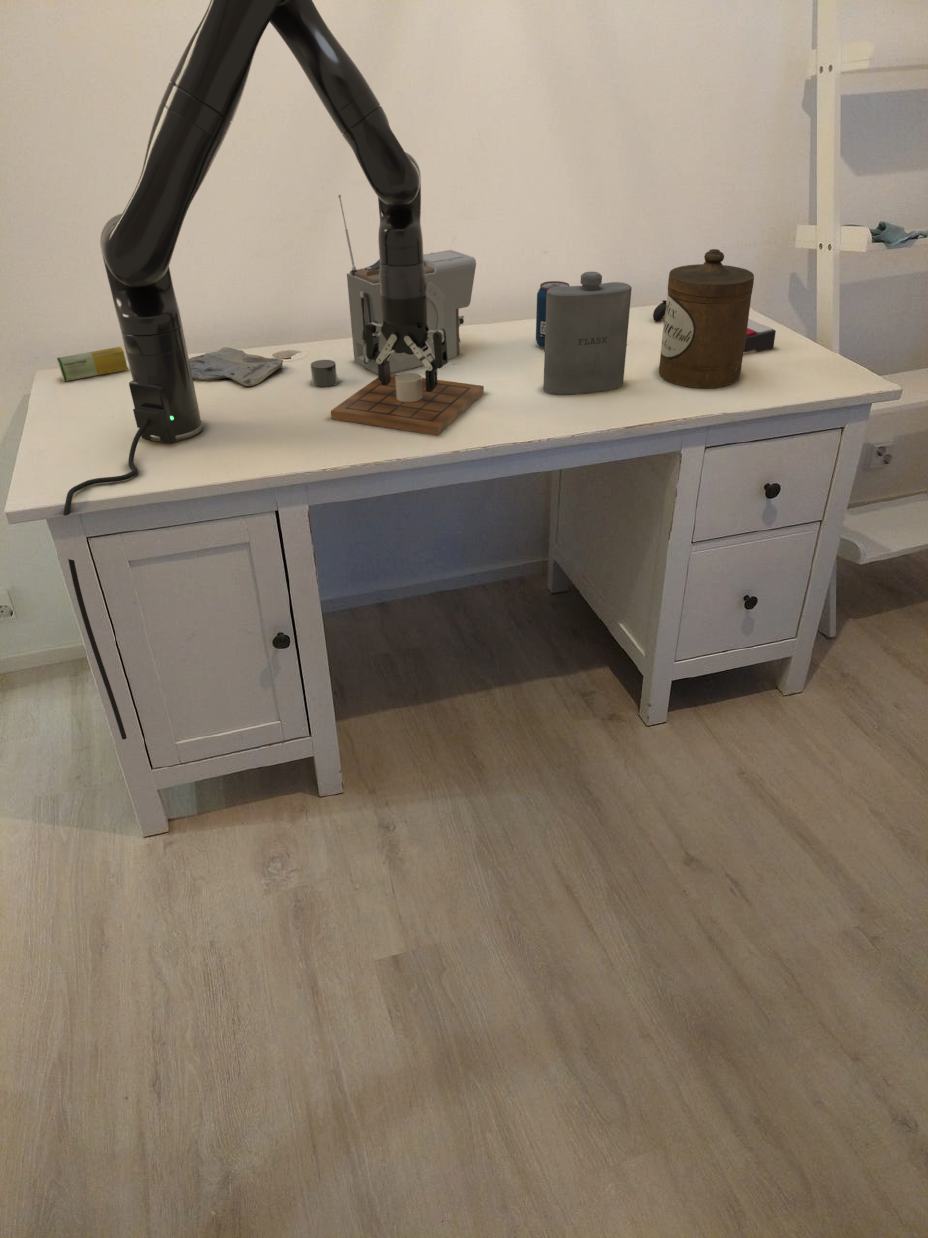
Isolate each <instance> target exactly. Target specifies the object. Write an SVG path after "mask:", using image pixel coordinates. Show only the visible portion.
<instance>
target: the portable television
mask: <svg viewBox="0 0 928 1238" xmlns="http://www.w3.org/2000/svg"><path fill="white" fill-rule="evenodd" d="M337 197H338V199H339V203H340V209H341V213H342V218H343V225H344V231H345V237H346V242H347V246H348V247H347V248H348V251H349V256H350V262H351V265H352V266H351V270H350V272H349V273H348V272H347V273H346V281H347V292H348V302H349V304H348V305H349V317H350V326H351V337H352V338H351V339H352V349H353V360H354V363H357V364H358V365H360V366H361V367H363V368H365V369H367V370H369V371H371V372H373V373H374V374H376V375H378V364H377V362H376V361H375V360H373V359H368V358H367V356H366V325H368V324H369V323H371V322H373V321H377V322H378V324H383V319H382V312H381V297H380V282H379V271H380V258H379V259H378V260H377V261H376V262H374V263H373V264H371V265H369V266H366V267H364V268H363V267H362V268H358V269H357V268H356V265H355V261H354V257H353V251H352V246H351V241H350V235H349V230H348V228H347V223H346V217H345V214H344V213H345V212H344V208H343V203H342V199H341V198H342V194H339V193H338V195H337ZM423 259H424V260H423V261H424V268H425V275H426V284H427V289H426V296H427V326H428V328H429V330H439V329H441V328H442V329H444V330H445V332H446V343H447V355H448V360H452V359H455V358H456V357H458V356H460V343H461V338H460V326H461V325H464V324H465V323H464V322H465V321H464V318H465V315H459V314H460V313H459V312H460V311H459V310H461V309H464V308H468V307H469V306H470V304H471V301H472V293H473V287H474V281H475V274H476V268H477V262H476V258H475V257H474V256H471V255H468V254H465V253H462V252H459V251H455V250H452V249H447V250H441V251H437V252H430V253H425V254H424V253H423ZM386 342H387V340H386V339H385V337H384V336H383V334H382V332H381V334H380V335H379V352H381V350H382V348H383V347H384V345H385V344H386ZM426 342H427V343H428V345H429V346H430V348H431V349H432V353H433V355H434V356H435V353H434V344H433V343H431V339H430V338H429V337H428V339H427V340H426ZM421 351H423V350H422V348H421ZM387 361H390V373H391V374H395V373H397V372H401V371H406V370H410V369H414V368H418V367H422V366H424V365H423V363H422V362H421V361H420V360H418V359H417V357H416V356H415V354H413V355H409V354H406V353H396V351H393V353H392V354H391V355H390V357H389V358H388V360H387Z"/></svg>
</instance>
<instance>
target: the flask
mask: <svg viewBox="0 0 928 1238" xmlns="http://www.w3.org/2000/svg"><path fill="white" fill-rule="evenodd" d="M602 282H603V275H602V274H601V273H600V272H598V271H585V272H582V274H581V275H580V284H581V285H569V286H559V287H553V288H550V289H548V290H547V297H546V326H545V349H544V359H543V384H542V386H543V390H544V391H545V392H546V393H547V394H551V395H559V396H560V395H561V396H562V395H563V396H564V395H567V396H568V395H583V394H593V393H601V392H608V391H612V390H616V389H620V388H621V387H622V386H623V385H624V379H625V370H626V369H625V367H626V357H627V356H626V355H627V346H628V334H629V332H628V331H629V324H630V323H629V322H630V310H631V300H632V287H633V286H632V285H630V284H628V283H626V282H622V281H621V282H620V281H609V282H603V283H602Z"/></svg>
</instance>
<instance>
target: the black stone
mask: <svg viewBox="0 0 928 1238" xmlns="http://www.w3.org/2000/svg"><path fill="white" fill-rule="evenodd" d="M310 371H311V380H312V385H313V386H314V387H318V388H329V387H333V386H335V385H337V384H338V374H337V364H336V361H335V360H333V359H318V360H315V361H312V362H311V363H310Z"/></svg>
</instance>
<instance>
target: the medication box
mask: <svg viewBox="0 0 928 1238" xmlns="http://www.w3.org/2000/svg"><path fill="white" fill-rule="evenodd" d="M56 360H57V364H58V367H59V371H60V375H61V377H62V380H63V382H68V381H74V380H78V379H83V378H90V377H95V376H101V375H106V374H111V373H117V372H122V371H127V370H129V367H128V365H127V360H126V356H125V352H124V350H123V348H122V347H121V346H116V347H110V348H104V349H99V350H94V351H88V352H82V353H77V354H72V355H66V356H61V357H57V358H56Z"/></svg>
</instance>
